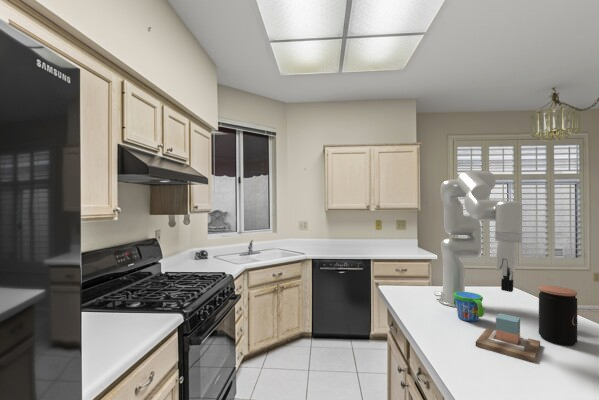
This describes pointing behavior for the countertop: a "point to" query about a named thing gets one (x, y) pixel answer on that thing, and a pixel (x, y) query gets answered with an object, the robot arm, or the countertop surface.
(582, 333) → the countertop surface
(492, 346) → the walnut board
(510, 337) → the teal and orange block
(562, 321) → the coffee jar
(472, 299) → the snack cup
